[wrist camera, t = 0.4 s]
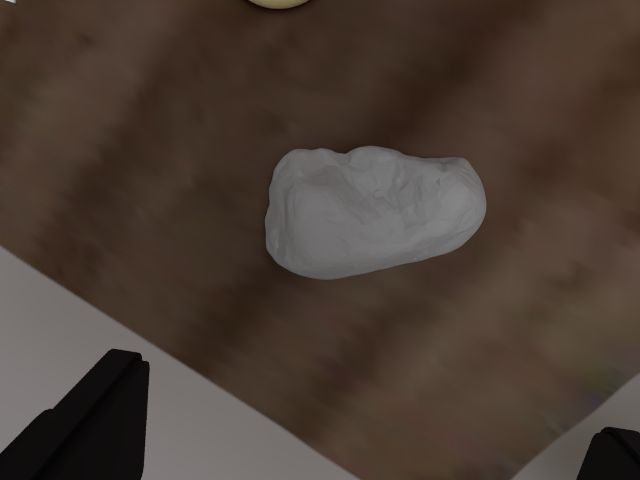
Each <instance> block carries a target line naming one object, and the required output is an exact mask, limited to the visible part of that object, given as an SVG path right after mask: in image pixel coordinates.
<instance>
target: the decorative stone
mask: <svg viewBox="0 0 640 480" xmlns="http://www.w3.org/2000/svg"><path fill="white" fill-rule="evenodd" d="M269 200H270V206H269V207H268V209H267V214H266V217H265V228H266V247H267V251H268V252H269V253H270V255H271V256H272V257H273V259H274V260H275V261H276V262H277V263H278V264H279V265H281V266H282V267H284V268H286V269H287V270H289V271H291V272H293V273H295V274H298V275H301V276H305V277H310V278H315V279H329V280H330V279H338V278H344V277H348V276H353V275H359V274H364V273H368V272H373V271H376V270H380V269H386V268H390V267H393V266H397V265H401V264H406V263H413V262H417V261H421V260H425V259H428V258H430V257H435V256H439V255H443V254H446V253H448V252H451V251H453V250H455V249H457V248H459V247H460V246H462V245H463V244H464V243H465V242H466V241H467V240H468V239H469V238H470V237H471V236H472V235H473V234H474V233H475V232H476V231H477V229H478V228H479V227H480V225H481V223H482V221H483V219H484V217H485V213H486V198H485V193H484V188H483V185H482V182H481V180H480V179H479V177H478V175H477V173H476V172H475V171H474V169H473V168H472V166H471V165H470V163H469V162H468V161H467V160H465V159H464V158H459V157H447V158H427V159H423V158H419V157H415V156H408V155H404V154H402V153H400V152H399V151H396V150H393V149H388V148H383V147H378V146H364V147H359V148H356V149H353V150H351V151H350V152H348V153H346V154H342V153H336V152H333V151H332V150H329V149H324V148H318V149H315V150H307V149H295V150H292V151H290V152H289V153H288V154H286V155H285V156H284V157H283V158H282V159H281V160H280V162H279V163H278V164H277V166H276V168H275V169H274V173H273V178H272V182H271V185H270V187H269Z"/></svg>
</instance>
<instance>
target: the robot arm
mask: <svg viewBox="0 0 640 480" xmlns="http://www.w3.org/2000/svg"><path fill="white" fill-rule="evenodd" d="M149 369H150V368H149V362H147V361H142V356H141V354H140V353H137V352H131V351H125V350H118V349H111V350H109V351H108V352H107V353H106V354H105V355H104V356H103V357H102V358H101V359H100V360H99V361H98V362H97V364H95V365H94V367H93V368H92V369H91V370H90V371H89V372H88V373H87V374H86V375H85V376H84V377H83V378H82V379H81V380H80V381H79V382H78V383H77V384H76V386H75V387H73V388H72V389H71V390H70V391H69V392H68V394H67V395H66V396H65V397H64V398H63V399H62V400H61V401H60V402H59V403H58V404H57V405H56V406H55V407H54V408H53V409H48V410H45V411H43V412H42V413H41V414H40V415H39V416H37V417H36V418H35V419H34V420H33V421H32V422H31V423H30V424H29V425H28V426H27V427H26V428H25V429H24V430H23V431H22V432H21V433H20V434H19V435H18V436H17V437H16V438H15V439H14V440H13V441H12V442H11V443H10V444H9V445H8V446H7V447H6V448H5V449H4V450H3V451H2V452H1V453H0V480H141V477H142V473H143V468H144V453H145V436H146V420H147V403H148V386H149ZM576 480H640V433H639V432H637V431H633V430H626V429H620V428H614V427H605V428H604V429H602V430H601V432H600V433H596V434H595V435H594V436H593V438H592V440H591V444H590V445H589V448H588V451H587V453H586V456H585V458H584V461H583V464H582V466H581V469H580V471H579V474H578V476H577V479H576Z"/></svg>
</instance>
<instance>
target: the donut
mask: <svg viewBox="0 0 640 480" xmlns="http://www.w3.org/2000/svg"><path fill="white" fill-rule="evenodd" d="M249 1H251V2H253V3H255V4H257V5H260V6H263V7H266V8H273V9H285V8H291V7H295V6H298V5H301V4H303V3H305V2H307V1H309V0H249Z"/></svg>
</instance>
